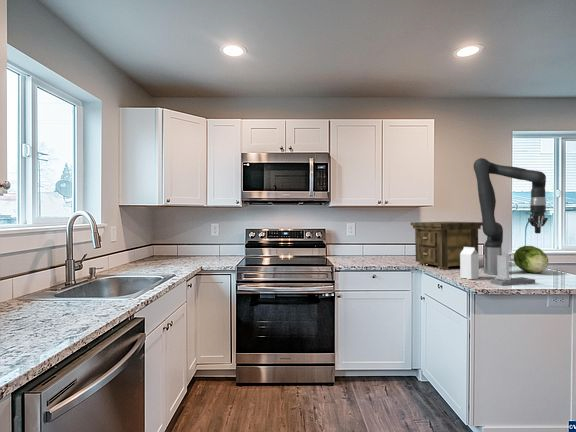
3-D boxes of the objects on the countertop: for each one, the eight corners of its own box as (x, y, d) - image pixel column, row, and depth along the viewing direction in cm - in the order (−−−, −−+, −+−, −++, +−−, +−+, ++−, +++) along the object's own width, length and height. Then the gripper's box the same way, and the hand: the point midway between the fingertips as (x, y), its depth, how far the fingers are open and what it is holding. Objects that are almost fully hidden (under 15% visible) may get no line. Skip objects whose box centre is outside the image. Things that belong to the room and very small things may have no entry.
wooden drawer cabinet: (483, 268, 242) (483, 222, 242) (441, 271, 233) (440, 223, 233) (449, 261, 276) (448, 221, 276) (411, 264, 267) (410, 222, 267)
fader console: (502, 285, 184) (502, 281, 184) (490, 282, 192) (490, 279, 192) (535, 283, 189) (535, 279, 189) (522, 280, 197) (522, 276, 197)
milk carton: (471, 280, 200) (470, 247, 200) (460, 278, 206) (459, 247, 206) (478, 279, 203) (478, 247, 203) (467, 277, 210) (467, 246, 210)
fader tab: (504, 280, 186) (504, 256, 186) (495, 278, 192) (495, 255, 192) (510, 280, 187) (510, 256, 187) (501, 278, 193) (501, 254, 192)
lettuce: (524, 275, 213) (532, 249, 210) (506, 264, 236) (513, 240, 233) (553, 281, 211) (562, 255, 208) (532, 269, 234) (540, 245, 231)
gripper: (540, 204, 211) (540, 232, 211) (523, 204, 208) (523, 233, 208) (552, 204, 204) (552, 233, 204) (535, 204, 200) (534, 234, 201)
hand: (537, 233), depth 206 cm, fingers closed
